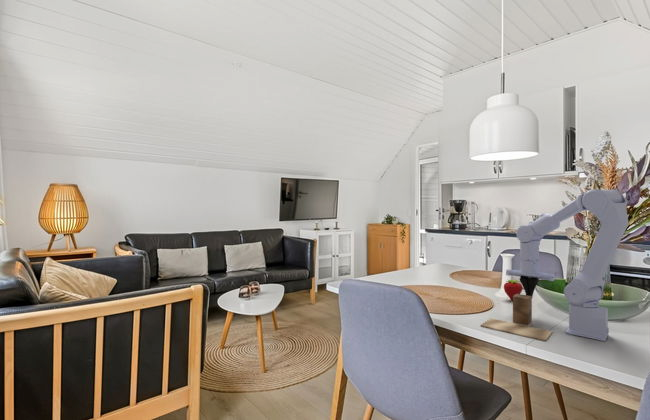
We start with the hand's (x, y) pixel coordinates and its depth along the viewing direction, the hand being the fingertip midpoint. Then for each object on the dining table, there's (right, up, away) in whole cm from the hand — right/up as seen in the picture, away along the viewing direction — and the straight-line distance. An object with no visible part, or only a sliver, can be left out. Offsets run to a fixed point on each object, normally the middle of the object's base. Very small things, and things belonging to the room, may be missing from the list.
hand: (529, 298), depth 119 cm
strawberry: (+5, -6, +20) cm, 22 cm away
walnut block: (-6, -7, -7) cm, 11 cm away
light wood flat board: (-12, -7, -12) cm, 18 cm away
